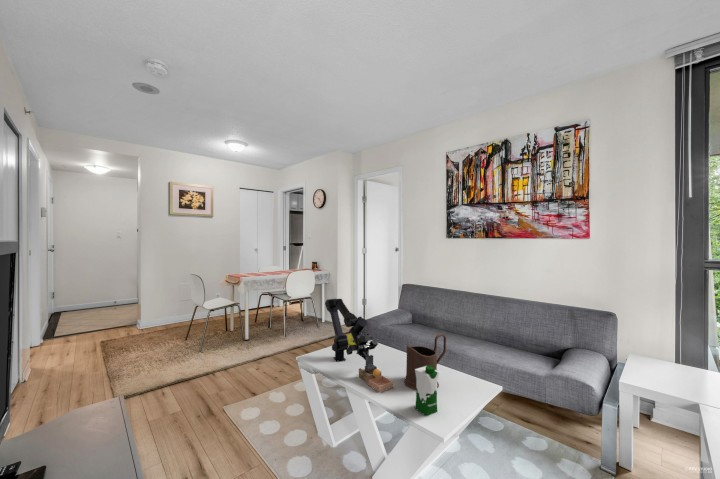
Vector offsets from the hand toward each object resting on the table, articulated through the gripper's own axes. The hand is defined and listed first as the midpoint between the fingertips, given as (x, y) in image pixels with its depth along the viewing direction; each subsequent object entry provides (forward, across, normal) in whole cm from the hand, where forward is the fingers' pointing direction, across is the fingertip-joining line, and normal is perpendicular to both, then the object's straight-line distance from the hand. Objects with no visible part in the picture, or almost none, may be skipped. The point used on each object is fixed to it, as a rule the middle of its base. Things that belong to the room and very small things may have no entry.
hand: (368, 361), depth 173 cm
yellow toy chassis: (-25, +22, +39) cm, 51 cm away
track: (+8, 0, +5) cm, 9 cm away
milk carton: (+35, +4, -22) cm, 41 cm away
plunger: (+5, 0, +2) cm, 5 cm away
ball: (+8, 0, -3) cm, 9 cm away
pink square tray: (+15, 0, -1) cm, 15 cm away
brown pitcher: (+21, +23, -8) cm, 32 cm away
